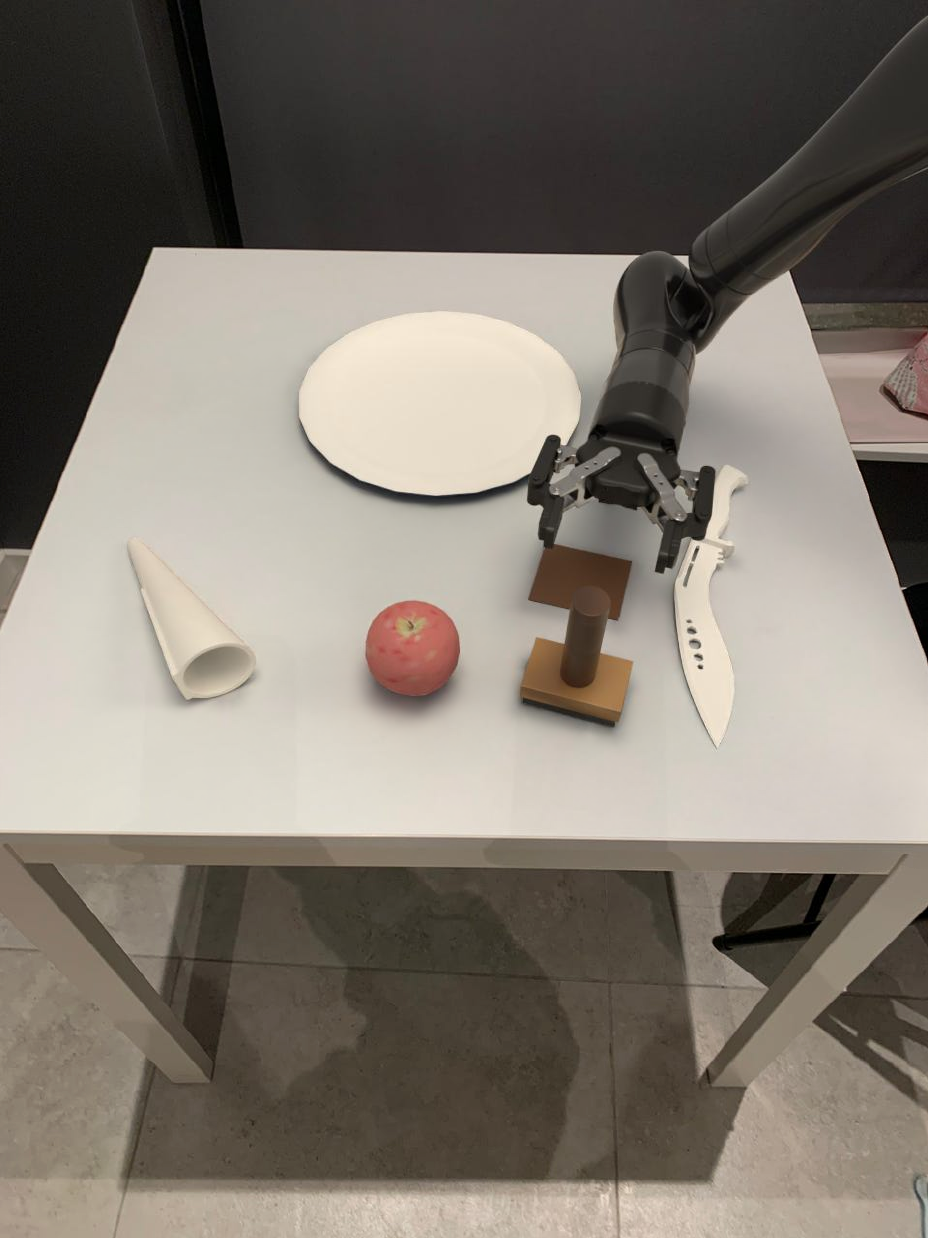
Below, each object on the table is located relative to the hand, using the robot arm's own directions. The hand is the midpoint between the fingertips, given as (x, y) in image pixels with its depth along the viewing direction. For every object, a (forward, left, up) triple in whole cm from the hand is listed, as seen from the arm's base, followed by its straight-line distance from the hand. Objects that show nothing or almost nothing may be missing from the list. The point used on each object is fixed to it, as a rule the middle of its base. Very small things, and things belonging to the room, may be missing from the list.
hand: (604, 553), depth 70 cm
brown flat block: (+2, -7, -12) cm, 14 cm away
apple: (+13, +7, -12) cm, 19 cm away
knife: (-10, -8, -12) cm, 18 cm away
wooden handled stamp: (0, +5, -12) cm, 13 cm away
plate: (+21, -26, -12) cm, 35 cm away
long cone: (+34, +6, -12) cm, 36 cm away
